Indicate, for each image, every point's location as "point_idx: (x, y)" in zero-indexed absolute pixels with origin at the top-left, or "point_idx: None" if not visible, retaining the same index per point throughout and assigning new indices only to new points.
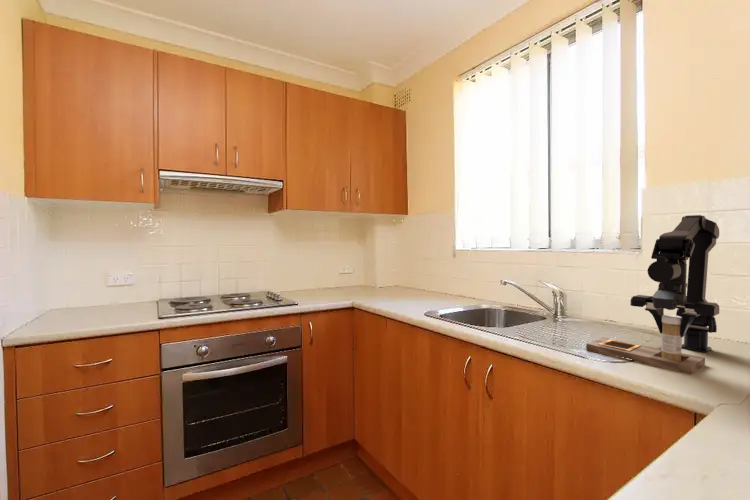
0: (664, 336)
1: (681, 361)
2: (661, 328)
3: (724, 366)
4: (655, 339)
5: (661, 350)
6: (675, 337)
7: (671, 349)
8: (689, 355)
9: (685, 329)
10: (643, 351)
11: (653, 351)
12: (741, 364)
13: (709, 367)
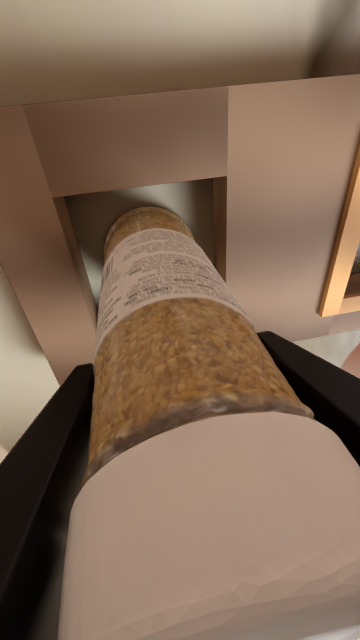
0: (212, 286)
1: None
2: (283, 363)
3: (23, 402)
4: None
5: None
6: (113, 312)
7: (134, 242)
8: None
9: (14, 449)
10: (291, 227)
11: (250, 278)
12: None
13: (34, 346)
